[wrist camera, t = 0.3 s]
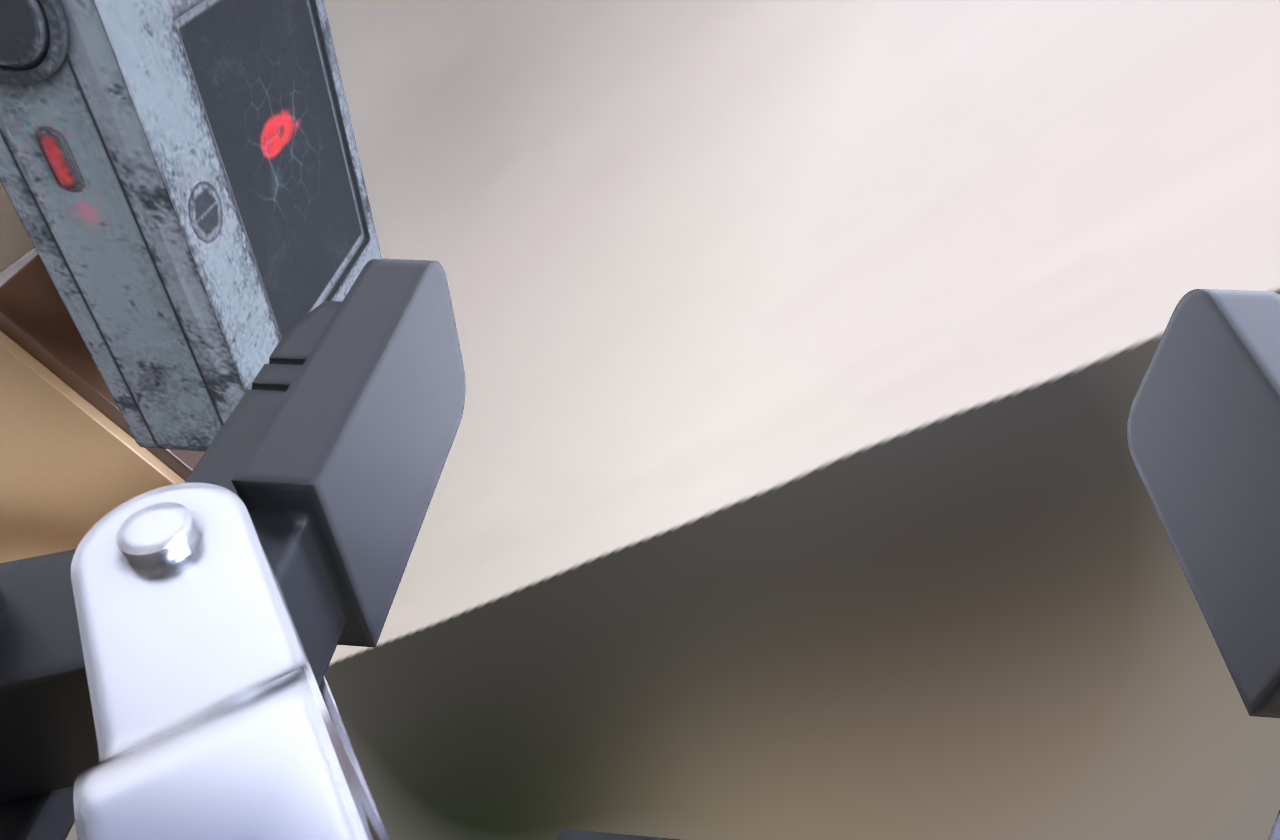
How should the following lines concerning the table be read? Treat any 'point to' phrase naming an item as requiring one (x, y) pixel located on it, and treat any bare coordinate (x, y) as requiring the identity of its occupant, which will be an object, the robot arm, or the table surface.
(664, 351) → the table surface
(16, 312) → the block
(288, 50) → the camera
